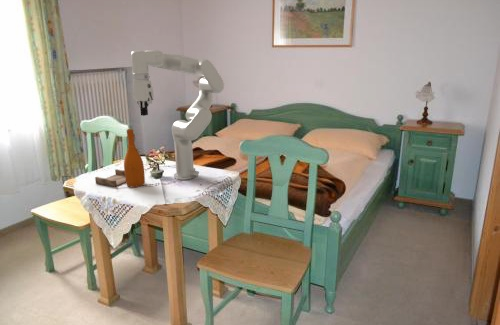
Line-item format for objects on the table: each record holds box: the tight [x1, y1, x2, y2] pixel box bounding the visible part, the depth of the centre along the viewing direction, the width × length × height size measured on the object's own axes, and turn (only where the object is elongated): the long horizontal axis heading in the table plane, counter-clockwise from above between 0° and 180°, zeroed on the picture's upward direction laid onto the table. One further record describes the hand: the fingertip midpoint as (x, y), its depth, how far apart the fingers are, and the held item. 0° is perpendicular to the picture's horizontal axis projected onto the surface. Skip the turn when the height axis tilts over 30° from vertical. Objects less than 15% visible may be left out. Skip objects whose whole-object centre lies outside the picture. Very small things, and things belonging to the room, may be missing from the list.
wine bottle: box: [123, 128, 146, 188], centre depth 200 cm, size 10×10×30 cm
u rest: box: [94, 169, 126, 188], centre depth 210 cm, size 14×15×4 cm
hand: (144, 115), depth 192 cm, fingers closed
